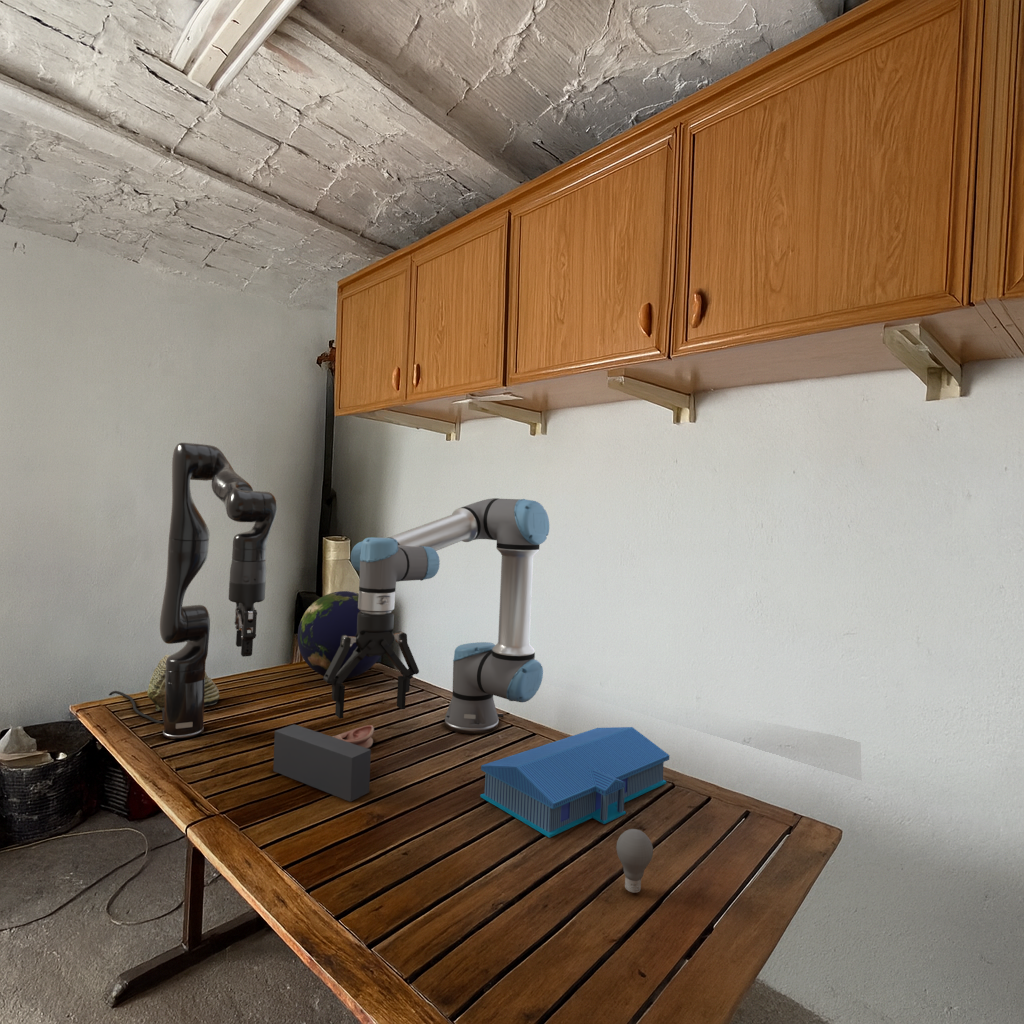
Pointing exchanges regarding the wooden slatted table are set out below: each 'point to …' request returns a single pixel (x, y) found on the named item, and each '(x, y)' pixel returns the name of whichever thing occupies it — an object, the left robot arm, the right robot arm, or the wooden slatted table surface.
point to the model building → (575, 778)
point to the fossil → (158, 687)
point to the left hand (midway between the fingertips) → (243, 650)
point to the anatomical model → (358, 736)
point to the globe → (331, 632)
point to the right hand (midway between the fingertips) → (370, 712)
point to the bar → (322, 762)
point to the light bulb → (634, 857)
